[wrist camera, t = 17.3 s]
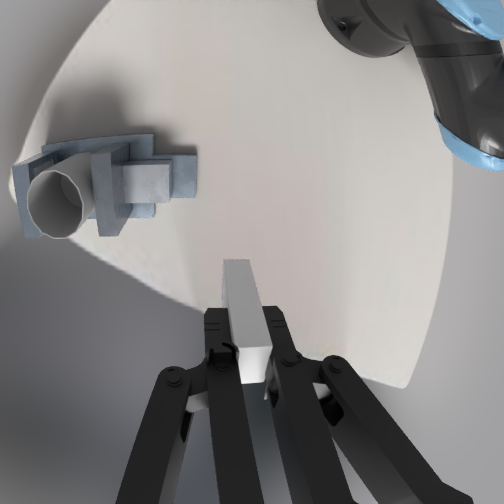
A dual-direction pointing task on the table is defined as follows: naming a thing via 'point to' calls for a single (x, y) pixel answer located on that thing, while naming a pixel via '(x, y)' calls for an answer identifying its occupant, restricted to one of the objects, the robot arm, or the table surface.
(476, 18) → the robot arm
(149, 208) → the vise base
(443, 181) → the table surface
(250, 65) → the table surface
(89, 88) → the table surface
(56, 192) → the cup
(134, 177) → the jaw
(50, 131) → the table surface
